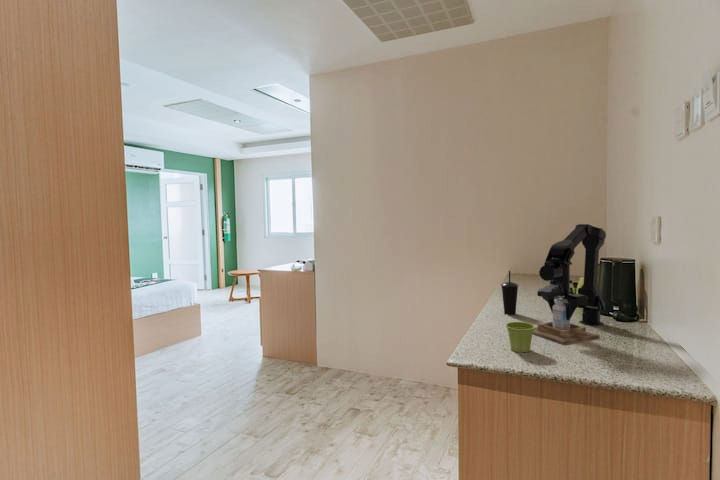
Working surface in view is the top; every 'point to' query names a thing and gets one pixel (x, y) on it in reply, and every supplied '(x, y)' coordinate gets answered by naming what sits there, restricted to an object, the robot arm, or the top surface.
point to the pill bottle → (560, 315)
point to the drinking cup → (509, 297)
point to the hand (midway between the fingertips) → (561, 318)
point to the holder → (563, 333)
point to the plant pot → (520, 336)
